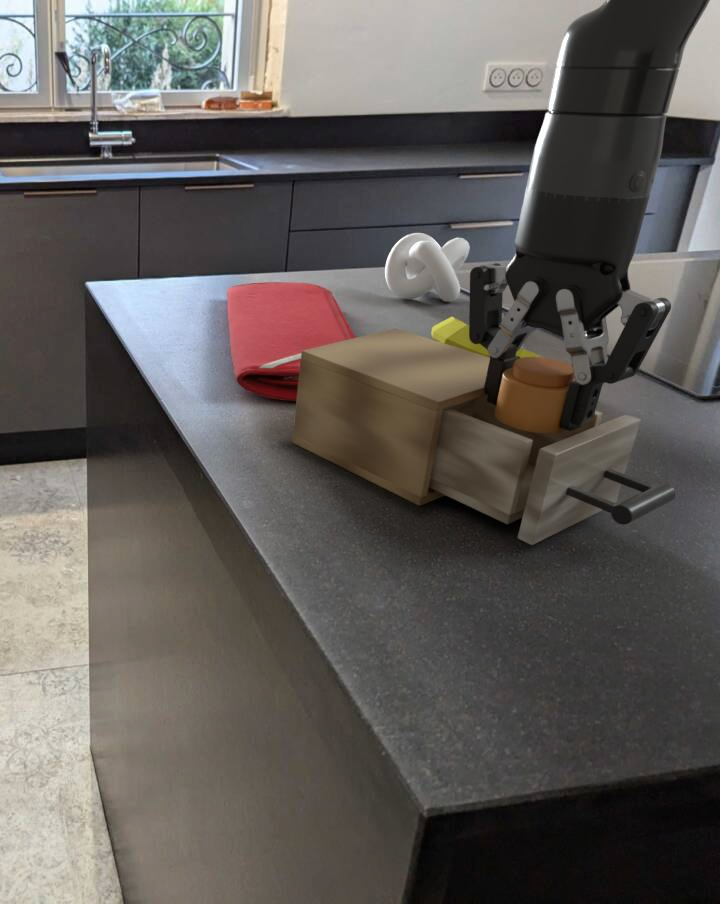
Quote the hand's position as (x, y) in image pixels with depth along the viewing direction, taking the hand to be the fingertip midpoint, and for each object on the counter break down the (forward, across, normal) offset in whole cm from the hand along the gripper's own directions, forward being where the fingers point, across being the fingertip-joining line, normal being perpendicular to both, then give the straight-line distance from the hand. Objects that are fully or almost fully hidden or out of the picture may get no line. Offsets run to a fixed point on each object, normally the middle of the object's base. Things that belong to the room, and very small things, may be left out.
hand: (533, 413), depth 63 cm
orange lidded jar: (0, 0, 0) cm, 0 cm away
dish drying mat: (+8, +40, -15) cm, 44 cm away
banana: (+8, +22, -31) cm, 39 cm away
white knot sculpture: (+8, +46, -49) cm, 68 cm away
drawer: (+7, -1, 0) cm, 7 cm away
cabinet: (+8, +11, 0) cm, 14 cm away
